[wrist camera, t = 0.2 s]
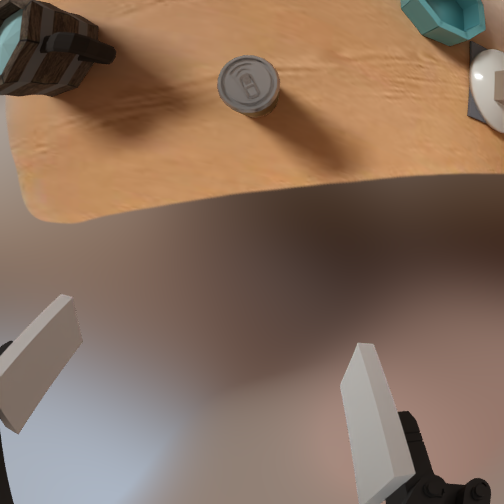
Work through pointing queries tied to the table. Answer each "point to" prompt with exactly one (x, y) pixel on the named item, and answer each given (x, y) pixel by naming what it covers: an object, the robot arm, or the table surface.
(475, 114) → the mat
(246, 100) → the beer can
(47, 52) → the mug
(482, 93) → the lid
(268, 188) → the table surface
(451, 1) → the bowl
